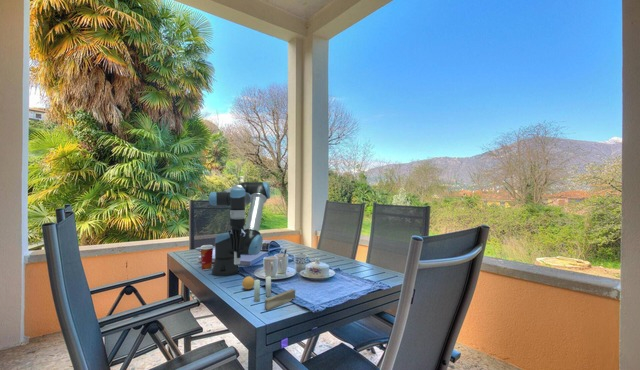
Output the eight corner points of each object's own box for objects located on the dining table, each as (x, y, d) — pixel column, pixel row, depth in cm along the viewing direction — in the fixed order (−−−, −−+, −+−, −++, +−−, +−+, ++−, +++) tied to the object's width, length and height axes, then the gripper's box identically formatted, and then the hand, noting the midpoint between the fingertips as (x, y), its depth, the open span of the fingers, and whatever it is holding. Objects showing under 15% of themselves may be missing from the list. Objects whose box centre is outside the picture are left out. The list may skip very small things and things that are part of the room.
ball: (239, 289, 140) (239, 277, 140) (249, 286, 144) (249, 274, 144) (247, 292, 136) (247, 279, 136) (257, 288, 141) (257, 276, 141)
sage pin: (253, 301, 125) (253, 280, 125) (257, 299, 127) (257, 279, 127) (256, 302, 124) (256, 281, 124) (260, 300, 126) (260, 280, 126)
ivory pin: (264, 296, 130) (264, 277, 131) (268, 295, 132) (268, 275, 132) (267, 297, 129) (268, 278, 129) (272, 296, 131) (272, 276, 131)
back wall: (264, 309, 117) (264, 299, 117) (292, 297, 129) (292, 289, 129) (267, 310, 116) (267, 300, 116) (295, 298, 128) (295, 290, 128)
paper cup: (199, 267, 177) (200, 245, 177) (213, 266, 180) (213, 244, 180) (199, 270, 170) (200, 247, 170) (213, 269, 173) (213, 246, 173)
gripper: (224, 217, 148) (223, 263, 147) (238, 219, 139) (238, 267, 139) (236, 216, 153) (236, 260, 153) (251, 218, 145) (250, 264, 145)
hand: (237, 263), depth 146 cm, fingers closed
